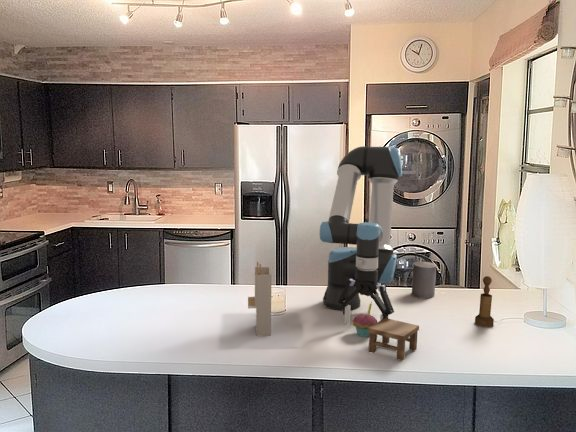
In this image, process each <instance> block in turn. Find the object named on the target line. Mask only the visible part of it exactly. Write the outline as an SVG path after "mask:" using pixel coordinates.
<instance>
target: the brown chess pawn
mask: <svg viewBox="0 0 576 432" xmlns="http://www.w3.org/2000/svg"><path fill="white" fill-rule="evenodd" d="M492 281H493V280H492V278H491V277H490V276H489V275H486V276H484V277H483V278H482V282H483V284H484V287H483V288H482V289H483V292H482V293H480V296H479V298H480V300H479V301H480V302H479V312H478V314H477V315H476V316H474V317H475V318H474V324H475V325H476V326H479V327H484V328H491V327H493V326H494V323H495V322H494V318H493V317H492V316H491V310H492V300H493V295H492V294H490V292H491V288H490V285H491V284H492Z"/></svg>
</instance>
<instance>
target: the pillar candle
mask: <svg viewBox="0 0 576 432" xmlns="http://www.w3.org/2000/svg"><path fill="white" fill-rule="evenodd" d="M412 267H413V269H412V281H411V282H412V284H411V285H412V287H411V296H414V297H415V298H421V299H431V298H434V296H435V293H436V291H435V290H436V280H437V279H436V277H437V264H436V263H433V262H431V261H416V262H414V263H413V266H412Z"/></svg>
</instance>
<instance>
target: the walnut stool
mask: <svg viewBox="0 0 576 432" xmlns="http://www.w3.org/2000/svg"><path fill="white" fill-rule="evenodd" d="M418 331H420V325H418V324H415V323H414V324H413V323H409V322H404V321H400V320H396V319H391V318H389V317H388V318H384V319H382V320H381V321H380V320H378V321H377V323H376V324H374V325H372V326H371V327H369V328H368V332H369V337H368V353H370V354H371V353H372V354H374V353H376V352H377V347H380V348H383V349H388V350H391V351H395V352H396V360H397V361H403V360H405V354H406V353H405V352H406V342H407V343H408V342H409V345H408V350H409V351H413V352H416V350H417V349H418V347H417V346H418ZM378 336H381V337H382V338H381V342H380V341H377V340H378ZM390 339H393V340H397V341H396V345H392V344H389V343H390Z"/></svg>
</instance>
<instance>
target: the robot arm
mask: <svg viewBox="0 0 576 432" xmlns="http://www.w3.org/2000/svg"><path fill="white" fill-rule="evenodd" d="M402 166H403V165H402V155H401V150H400V149H399V148H398V147H393V146H366V145H365V146H358V147H356V148H353V149H352V150H350V151H349V152H347V153H346V154H345V155H344V156H343V158H342V159H340V162H339V164H338V167H337V170H336V174H337V177H338V178H337V181H336V186H335V190H334V196H333V198H332V203H331V209H330V212H329V217H328V221H321V224H320V225H319V239H320V241H321V242H322V243H327V244H339V245H340V244H343V245H354V246H355V245H356V247H354V246H344V247H337V248H334V249H331V250H330V251H329V253H328V260H327V263H328V264H327V286H326V289H325V292H324V295H323V297H322V305H323V306H324V307H325V308H328V309H331V310H337V311H342V315H343V316H344V323H343V324H344V326H347V325H349V324H351V311H353V310H356V309H358V308H360V307H361V297H360V296H366V297H370V298H371V299H372V300H373V301H374V303H375V305H376V306H377V308H378V309H379V311H380V312H381V314H380V315H379V316H380V317H379V319H380V320H379V321H381V320H382V319H384V318H388V319H389V316H390V315H391V314H393V313H395V310H394V308H393V305H392V302H391V299H390V298H389V295H388V292H387V286H386V284H389V283H391V282H393V280H394V279H393V278H394V276H395V275H394V274H395V271H396V266H397V259H398V256H397V254H396V253H394V248H392V246H391V236H392V221H393V217H392V216H393V206H394V205H393V204H394V201H393V199H394V189H395V188H394V186H395V185H396V184H397V183H398V182H399V178H401V177H403V167H402ZM361 176H365V177H367V176H368V181H369V182H370V183H371V195H370V210H369V221H367V222H366V221H365V222H363V221H362V222H359V223H351V222H350V219H351V214H352V210H353V209H352V208H353V205H354V200H355V195H356V189H357V184H358V182H359V180H360V179H361V178H362V177H361ZM377 290H378V291H377ZM379 295H380V296H379Z"/></svg>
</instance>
